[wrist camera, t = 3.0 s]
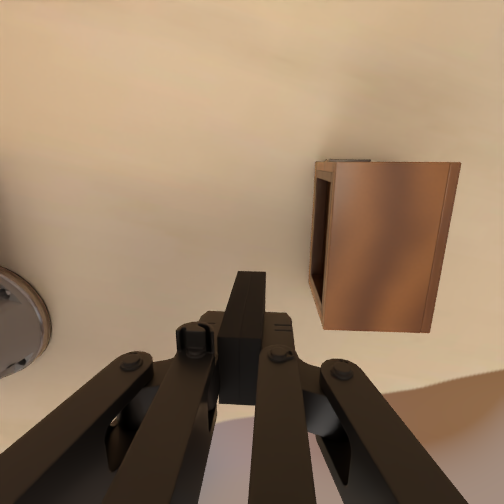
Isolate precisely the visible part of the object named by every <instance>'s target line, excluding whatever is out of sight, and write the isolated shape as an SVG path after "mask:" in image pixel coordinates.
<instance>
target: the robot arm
mask: <svg viewBox="0 0 504 504" xmlns="http://www.w3.org/2000/svg"><path fill="white" fill-rule="evenodd" d="M265 288H266V272H252V271H238V273H237V276H236V279H235V282H234V285H233V289H232V292H231V295H230V298H229V301H228V304H227V307H226V310H225V312H223V311H207V312H206V313H205V314H203V315H202V316H201V318H200V320H199V322H190V323H186V324H183V325H182V326H180V327H178V328H177V330H176V342H177V353H176V355H175V357H174V358H172V359H168V360H163V361H157V362H153V359H152V356H151V355H150V354H148V353H146V352H141V351H134V352H129V353H126V354H123V355H121V356H119V357H118V358H116V359H115V360H114V361H112V362H111V363H110V364H109V365H107V366H106V367H105V368H104V369H103V370H101V371H100V372H99V373H98V374H97V375H95V376H94V377H93V378H92V379H91V380H89V381H88V382H87V383H86V384H85V385H83V386H82V387H81V388H80V389H79V390H77V391H76V392H75V393H74V394H73V395H71V396H70V397H69V398H68V399H67V400H65V401H64V402H63V403H62V404H60V405H59V406H58V407H57V408H56V409H54V410H53V411H52V412H51V413H50V414H48V415H47V416H46V417H45V418H44V419H42V420H41V421H40V422H39V423H38V424H36V425H35V426H34V427H33V428H32V429H30V430H29V431H28V432H27V433H26V434H24V435H23V436H22V437H21V438H20V439H18V440H17V441H16V442H15V443H13V444H12V445H11V446H10V447H9V448H7V449H6V450H5V451H4V452H3V453H1V454H0V504H198V499H199V495H200V490H201V486H202V481H203V476H204V472H205V467H206V463H207V458H208V454H209V449H210V445H211V440H212V435H213V431H214V426H215V422H216V417H217V399H218V395H219V404H236V405H255V417H254V430H253V446H252V458H251V470H250V483H249V497H248V504H316V497H315V488H314V481H313V472H312V464H311V456H310V448H309V440H308V432H310V433H313V434H315V435H316V440H317V443H318V445H319V447H320V449H321V452H322V454H323V457H324V459H325V461H326V464H327V466H328V468H329V470H330V473H331V475H332V477H333V480H334V482H335V484H336V487H337V489H338V491H339V493H340V496H341V498H342V501H343V503H344V504H468V503H467V501H466V500H465V499H464V498H463V496H462V495H461V494H460V493H459V491H458V490H457V489H456V487H455V486H454V485H453V484H452V482H451V481H450V480H449V479H448V477H447V476H446V475H445V474H444V472H443V471H442V470H441V469H440V467H439V466H438V465H437V464H436V462H435V461H434V460H433V459H432V457H431V456H430V455H429V454H428V452H427V451H426V450H425V449H424V447H423V446H422V445H421V444H420V442H419V441H418V440H417V439H416V437H415V436H414V435H413V433H412V432H411V431H410V430H409V429H408V427H407V426H406V425H405V423H404V422H403V421H402V420H401V418H400V417H399V416H398V415H397V413H396V412H395V411H394V410H393V408H392V407H391V406H390V405H389V403H388V402H387V401H386V400H385V399H384V397H383V396H382V395H381V393H380V392H379V391H378V390H377V388H376V387H375V386H374V385H373V383H372V382H371V381H370V380H369V378H368V377H367V376H366V375H365V373H364V372H363V371H362V369H361V368H359V367H358V366H357V365H356V364H354V363H352V362H350V361H348V360H343V359H330V360H326V361H325V362H324V363H322V365H321V368H320V367H316V366H312V365H309V364H307V363H305V362H303V361H302V360H301V359H299V358H298V355H297V353H296V351H295V345H294V337H293V328H292V320H291V318H290V317H289V316H288V314H287V313H277V312H265ZM50 332H51V326H50V319H49V315H48V312H47V309H46V307H45V305H44V303H43V301H42V299H41V298H40V296H39V295H38V294H37V292H36V291H35V290H34V289H33V288H32V287H31V286H30V285H29V284H28V283H27V282H26V281H25V280H24V279H22V278H21V277H20V276H18V275H16V274H15V273H13V272H11V271H9V270H7V269H5V268H2V267H0V379H1V378H4V377H6V376H8V375H11V374H13V373H16V372H18V371H20V370H22V369H24V368H26V367H27V366H28V365H29V364H31V363H32V362H33V361H34V360H35V359H37V358H38V357H39V356H40V355H41V354H42V353H43V351H44V350H45V348H46V347H47V344H48V342H49V339H50ZM116 416H117V418H116V419H115V420H114V421H113V422H112V420H113V419H114V418H115V417H116ZM111 422H112V423H111ZM110 423H111V424H110Z"/></svg>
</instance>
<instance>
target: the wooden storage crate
mask: <svg viewBox="0 0 504 504" xmlns="http://www.w3.org/2000/svg"><path fill="white" fill-rule="evenodd" d="M460 168H461V163H460V162H371V160H332V159H329V160H326V162H316V164H315V181H314V198H313V214H312V231H311V248H310V265H309V285H310V288H311V292H312V295H313V298H314V301H315V304H316V307H317V310H318V314H319V317H320V320H321V323H322V326H323V329H324V330H349V331H380V332H410V333H420V332H421V333H430V329H431V323H432V318H433V313H434V307H435V302H436V297H437V291H438V286H439V280H440V275H441V270H442V264H443V259H444V254H445V248H446V243H447V237H448V232H449V227H450V221H451V216H452V211H453V205H454V200H455V194H456V189H457V184H458V178H459V173H460Z"/></svg>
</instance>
